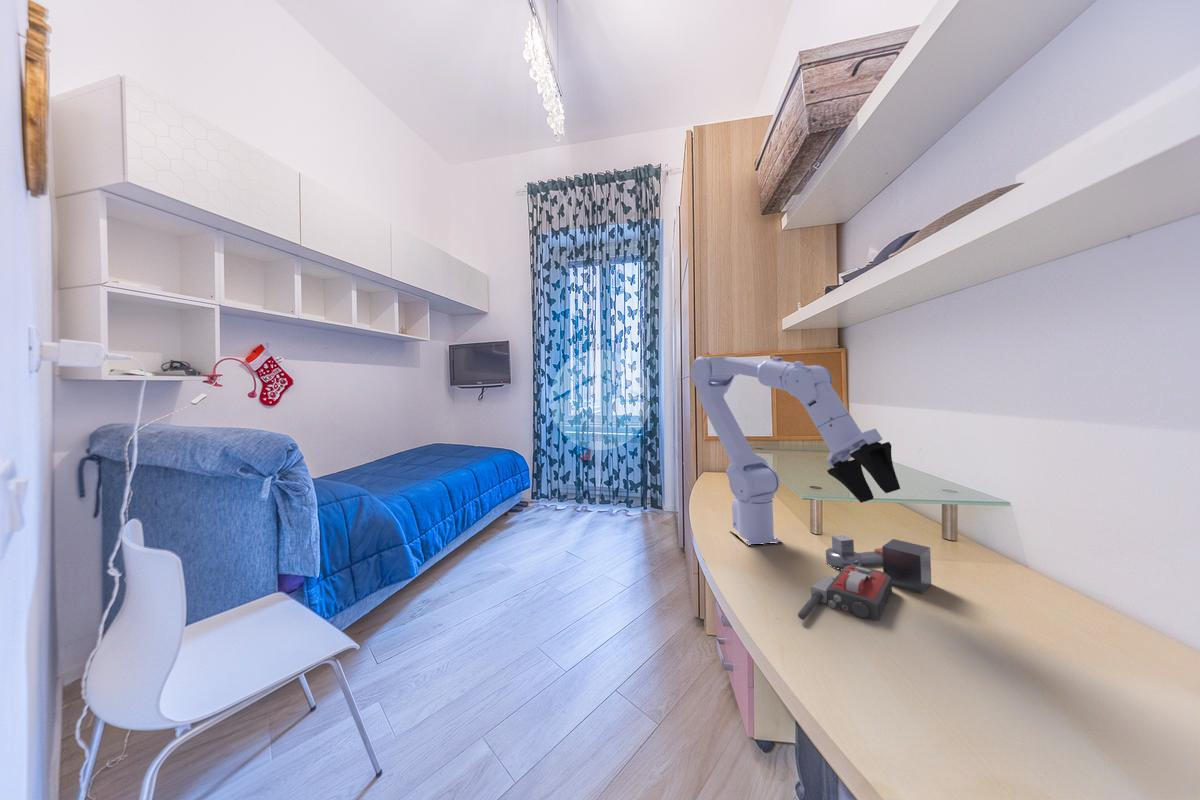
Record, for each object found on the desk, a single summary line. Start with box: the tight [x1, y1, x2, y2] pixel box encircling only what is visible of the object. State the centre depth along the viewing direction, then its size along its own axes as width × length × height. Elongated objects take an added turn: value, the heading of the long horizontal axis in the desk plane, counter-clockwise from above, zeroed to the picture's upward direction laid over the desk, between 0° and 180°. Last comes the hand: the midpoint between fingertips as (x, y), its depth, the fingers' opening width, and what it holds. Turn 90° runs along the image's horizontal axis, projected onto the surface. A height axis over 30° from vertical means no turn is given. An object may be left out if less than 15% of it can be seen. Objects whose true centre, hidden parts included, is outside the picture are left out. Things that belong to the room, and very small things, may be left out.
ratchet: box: [825, 534, 883, 569], centre depth 70 cm, size 16×6×5 cm, turn 95°
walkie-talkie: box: [797, 564, 893, 622], centre depth 57 cm, size 9×4×20 cm
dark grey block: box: [881, 538, 932, 595], centre depth 62 cm, size 5×5×6 cm
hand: (879, 496), depth 61 cm, fingers open, 7 cm apart
